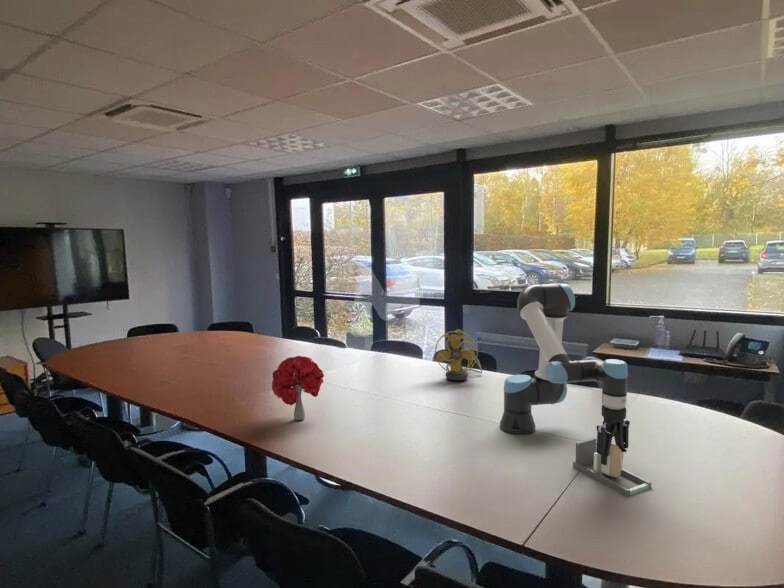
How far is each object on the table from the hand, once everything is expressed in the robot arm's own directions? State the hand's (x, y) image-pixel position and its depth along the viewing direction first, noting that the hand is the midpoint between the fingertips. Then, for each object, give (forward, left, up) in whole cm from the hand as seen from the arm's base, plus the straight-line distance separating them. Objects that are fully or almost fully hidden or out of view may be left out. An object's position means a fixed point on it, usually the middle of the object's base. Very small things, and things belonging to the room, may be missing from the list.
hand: (611, 470), depth 156 cm
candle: (0, 0, -1) cm, 1 cm away
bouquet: (-107, -83, -3) cm, 135 cm away
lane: (0, 0, -3) cm, 3 cm away
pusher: (-2, 0, -3) cm, 3 cm away
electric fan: (-130, +25, -3) cm, 133 cm away
